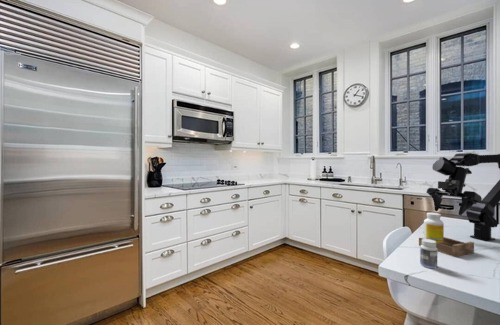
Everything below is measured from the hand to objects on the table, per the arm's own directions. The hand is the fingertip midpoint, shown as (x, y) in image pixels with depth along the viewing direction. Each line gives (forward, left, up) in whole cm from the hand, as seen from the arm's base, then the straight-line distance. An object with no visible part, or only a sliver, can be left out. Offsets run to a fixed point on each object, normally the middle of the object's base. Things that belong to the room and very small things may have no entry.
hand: (447, 213), depth 110 cm
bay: (+11, +6, -12) cm, 18 cm away
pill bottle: (+33, +15, -12) cm, 38 cm away
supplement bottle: (+11, +2, -12) cm, 16 cm away
